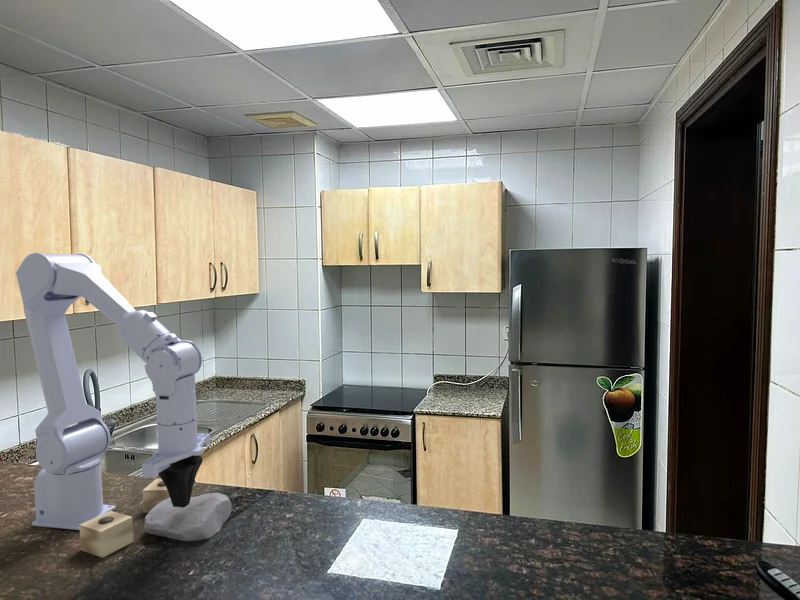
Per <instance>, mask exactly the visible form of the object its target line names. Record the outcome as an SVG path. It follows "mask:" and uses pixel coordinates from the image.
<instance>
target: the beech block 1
mask: <svg viewBox="0 0 800 600" xmlns="http://www.w3.org/2000/svg"><path fill="white" fill-rule="evenodd" d="M133 522H134V521H133V516H130V515H127V514H125V513H124V514H123V513H121V512H116V511H115V510H112V511H109V512H107V513H105V514H103V515H100V516H98V517H96V518H94V519H91V520H89V521H87V522H85V523H82V524H80V525H79V526H80V530H79V536H80V538H79V540H80V551H82V552H85V553H88V554H91V555H94V556H97V557H100V558H101V559H103V558H105V557H107V556H109V555H111V554H112V553H115V552H116V551H119V550H120V549H122V548H124V547H126V546H128V545H130V544H131V543H134V524H133Z"/></svg>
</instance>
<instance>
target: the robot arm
mask: <svg viewBox="0 0 800 600" xmlns="http://www.w3.org/2000/svg"><path fill="white" fill-rule="evenodd" d="M102 268H103V267H102V266H101V265H100V264H98V263H97V262H96V261H95V260H94V259H93V258H92V257H91V256H90V255H88V254H85V253H76V254H64V253H63V254H57V253H55V254H54V253H51V254H50V253H41V252H32V253H30V254H28V255H26V256H25V257H24V259H23V260H22V262H21V264H20V266H19V267H18V269H17V270H16V272H15V274H16V278H17V283H18V288H19V292H20V296H21V300H22V303H23V305H22V306H23V313H24V316H25V320H26V324H27V329H28V334H29V338H30V341H31V346H32V351H33V354H34V359H35V363H36V366H37V371H38V376H39V379H40V383H41V389H42V391H43V392H42V393H43V397H44V401H45V404H46V409H47V414H46V416H44V417H43V419H42V421H41V422H40V423H39V424H38V425H37V427H36V428H35V430H34V431H35V435H36V445H35V457H36V460H37V462H38V464H39V465H40V467H41V468H42V469H41V470H39V472H38V474H37V475H36V478H35V481H34V487H33V492H34V503H35V504H34V505H35V520H34V521H32V522H31V526H32V527H43V528H53V529H62V530H63V529H66V530H75V531H80V526H79V525H80V524H82V523H85V522H87V521H89V520H91V519H94V518H96V517H98V516H100V515H103V514H105V513H107V512H109V511H115V509H116V508H117V506H116V505H115V504H114V505H112V504H104V498H103V495H104V494H103V480H102V479H103V476H102V464H101V463H102V460H104V459H105V454H104V453H105V452H107V450H108V449H109V447H110V445H111V441H112V440H111V438H112V437H111V433H110V429H109V428H108V426H107V424H106V423H105V422H104V420H103V417H102V413H101V411H100V410H99V409H97V408H95V407H94V406H91V405H89V404H88V403H87V402H86V398H85V394H84V390H83V385H82V381H81V377H80V371H79V369H78V364H77V360H76V359H77V358H76V355H75V351H74V348H73V343H72V338H71V334H70V329H69V325H68V322H67V318H66V317H67V316H66V312H67V311H68V310H69V308H70V307H71V305H73V304H75V302H77V301H78V300H79V299H81V297H82V298H83V299H84V300H85V301H87V302H88V303H89V304H90V305H92V306H93V307H94V308H96V309H97V310H98V311H99V312H100V313H101V314H103V315H104V316H105V317H106V318H108V319H109V320H110V321H111V322H113V323H114V324H115V325H117V326H116V327H117V328H116V335H117V337H118V338H119V340H121V341H122V342H123V343H124V344H125V345H126V346H127V347H129V349H130V350H131V351H132V352H134V354H135V355H137V356H138V357H139V358H140V359H141V360H142V361H144V363H145V364H144V370H145V373H146V375H147V376H146V377H148V379H149V380H150V381H151V386H152V392H153V393H154V395H155V405H156V407H155V408H156V427H157V428H156V429H157V444H158V445H157V446H158V447H157V448H158V449H157V450H156V451H155V452H154V453H153V455H151V456H150V458H149V459H148V460H147V461H146V462H144V463H142V464H141V474H142V478H144V479H157V478H158V477H159V479H162V481H163V482H164V484H165V486H166V488H167V490H168V493H169V496H170V499H171V502H172V504H173V507H182V508H184V507H186V506H187V505H188V504H189V503H190V498H191V497H192V492H193V488H194V483H195V480H196V478H197V477H196V476H197V474H198V471H199V469H200V467H201V465H202V463H203V456H202V455H201V454H203V453H204V452H205V448H207V447H209V446H210V445H211V438H210V437H211V436H210V435H211V434H210V433H198V416H197V415H198V414H197V413H198V412H197V394H196V375H197V374H198V372H200V369H201V367H202V365H203V357H202V353H201V351H200V349H199V348H198V347H197V345H196V344H195V342H193V341H191V340H187V339H183V340H182V339H180V338H179V337H178V336H177V335H176V334H175V333H171V331H170V330H168V328H167V327H166V326H164V325H163V324H162V323H161V322H160V321H159V320H158V316H157V315H156V314H155V313H154V312H152V311H148V310H145V309H144V310H143V309H141V310H140V309H139V310H136V309H135V308H134V307H133V306H132V305H131V304H130V303H129V302H128V300H127V299H126V298H125V297H124V296H123V295H122V294H121V293H120V292H119V291H118V290H117V289H116V288H115V286H113V285H112V283H111V282H110V281H109V280H108V279H107V278H106V277H105V276H104V275H103V269H102ZM75 424H76V425H75ZM69 426H70V427H69Z"/></svg>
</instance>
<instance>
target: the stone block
mask: <svg viewBox="0 0 800 600" xmlns="http://www.w3.org/2000/svg"><path fill="white" fill-rule="evenodd" d="M231 511H232V502H231V500H230V498H229V496H228V495H227V494H222V493H220V492H212V493H211V492H210V493H203V494H200V495H197V496H191V498H190V503H189V504H188V505H187V506H186V507H184V508H182V507H173V504H172V502H171V499H170V497H169V498H168V499H166V500H164V501H162V502H161V503H159V504H157V505H156V506H155V507H154V508H152V509H151V510H150V512H149V513H147V514H146V515H145V517H144V526H143V531H144V532H146V533H147V534H149V535H154V536H158V537H165V538H169V539H170V540H171V539H172V540H177V541H183V542H195V541H202V540H208V539H211V538H212V537H214V536H215V535H216V534H218V533H219V532H220V531H221V529H222V527H223V525H224V524H225V523H226V522H227V520H228V519H229V518H230V516H231V514H232V513H231Z"/></svg>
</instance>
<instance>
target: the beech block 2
mask: <svg viewBox="0 0 800 600" xmlns="http://www.w3.org/2000/svg"><path fill="white" fill-rule="evenodd" d="M169 497H170V496H169V493H168V490H167V488H166V486H165V484H164V482H163V481H162V479H161V478H154V480H153V481H152V482H150V484H148V485H147V486H146V487H145V488H143V490H142V505H143V507H142V508H143V514H144V513H145V514H146V513H147V514H148V513H149V512H150V510H151V509H152V508H154V507H155V506H156V505H157V504H159V503H161V502H162V501H164V500H166V499H168V498H169Z"/></svg>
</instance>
